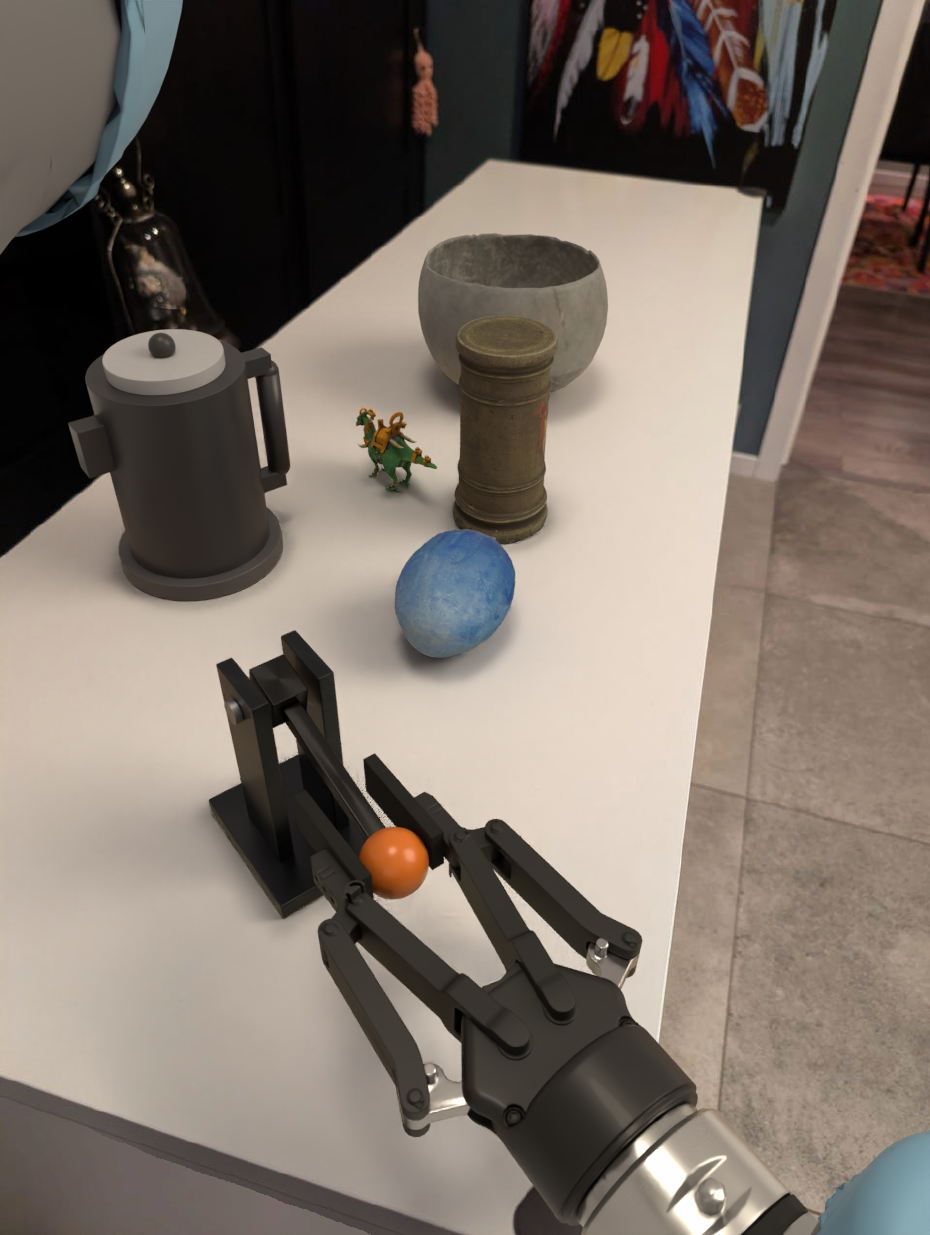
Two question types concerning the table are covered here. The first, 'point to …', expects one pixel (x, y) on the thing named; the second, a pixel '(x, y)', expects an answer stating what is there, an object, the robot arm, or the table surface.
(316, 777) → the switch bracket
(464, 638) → the egg
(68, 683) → the table surface
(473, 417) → the container
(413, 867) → the switch
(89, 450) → the kettle
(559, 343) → the bowl
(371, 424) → the figurine
